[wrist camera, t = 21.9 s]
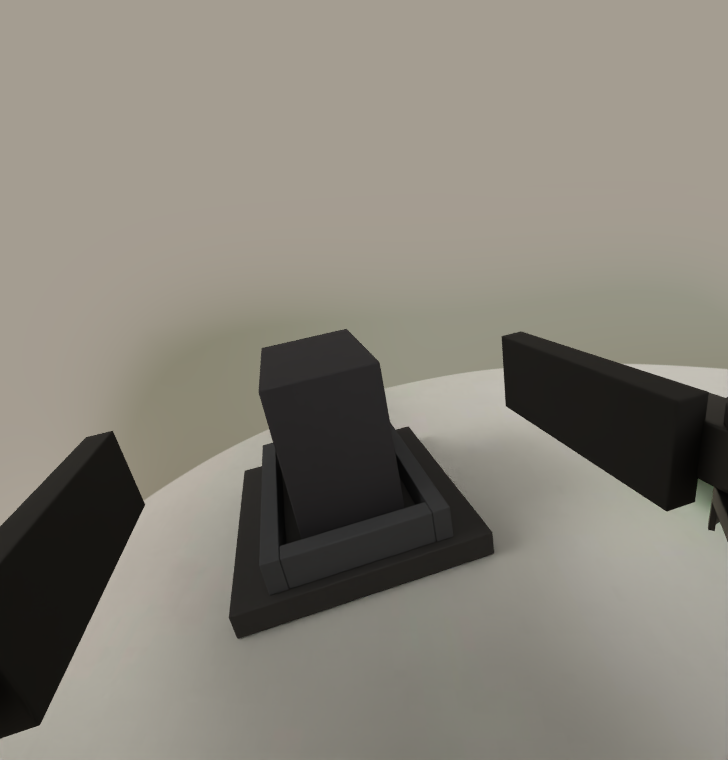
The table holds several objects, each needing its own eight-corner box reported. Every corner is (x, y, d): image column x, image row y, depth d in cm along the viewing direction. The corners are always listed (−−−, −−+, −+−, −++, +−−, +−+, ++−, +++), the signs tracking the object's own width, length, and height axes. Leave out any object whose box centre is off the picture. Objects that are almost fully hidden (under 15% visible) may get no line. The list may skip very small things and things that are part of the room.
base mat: (237, 639, 20) (215, 586, 19) (249, 486, 33) (237, 449, 32) (494, 553, 22) (490, 501, 21) (410, 441, 35) (405, 404, 34)
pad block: (306, 555, 22) (257, 391, 19) (295, 472, 31) (261, 348, 27) (408, 524, 23) (379, 361, 20) (371, 451, 32) (346, 328, 28)
